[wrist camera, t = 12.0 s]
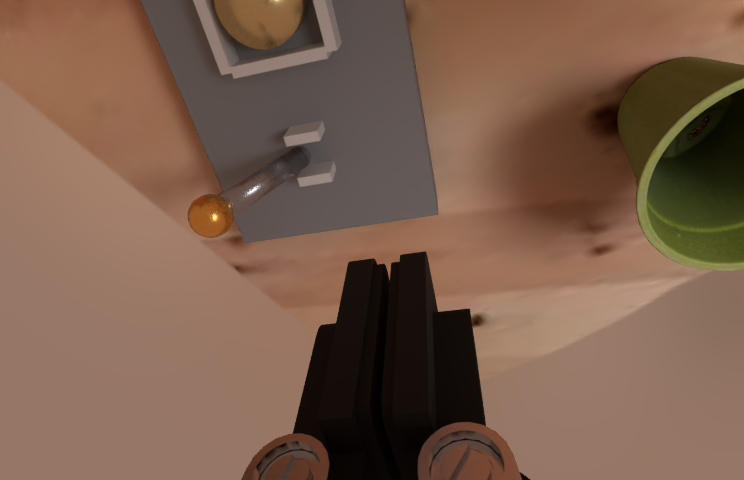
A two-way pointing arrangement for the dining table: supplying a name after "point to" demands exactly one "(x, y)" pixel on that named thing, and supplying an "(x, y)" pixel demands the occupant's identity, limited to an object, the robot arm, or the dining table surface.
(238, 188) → the lever
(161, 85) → the dining table surface
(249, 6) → the brass button
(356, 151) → the switch panel
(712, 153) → the plant pot
